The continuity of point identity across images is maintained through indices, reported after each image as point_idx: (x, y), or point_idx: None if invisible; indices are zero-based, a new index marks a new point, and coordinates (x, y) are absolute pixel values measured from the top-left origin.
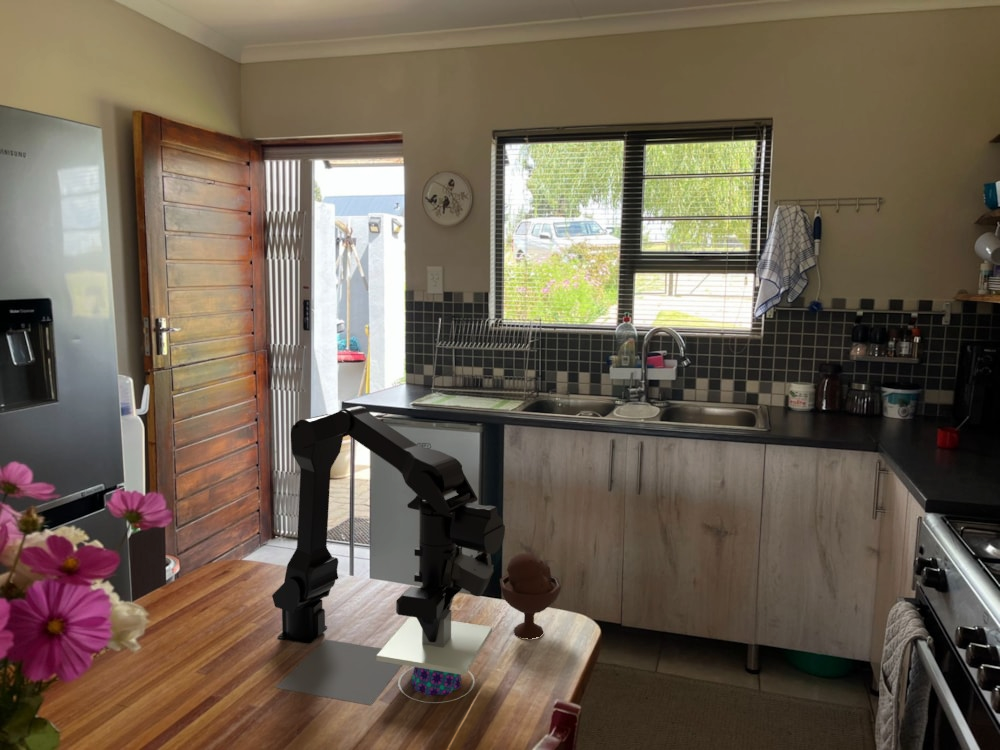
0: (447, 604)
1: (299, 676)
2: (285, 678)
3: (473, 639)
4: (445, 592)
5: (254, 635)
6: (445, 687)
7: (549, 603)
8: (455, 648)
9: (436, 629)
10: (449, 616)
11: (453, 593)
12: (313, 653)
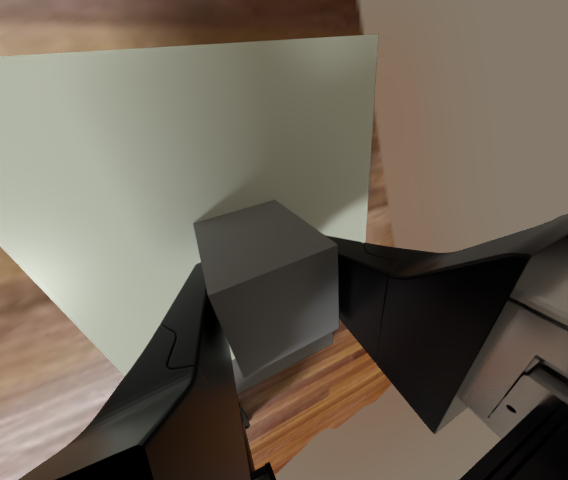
0: (551, 252)
1: (306, 347)
2: (315, 351)
3: (140, 120)
4: (212, 469)
5: (252, 436)
6: None
7: None
8: (260, 157)
9: (343, 239)
10: (240, 265)
11: (183, 436)
12: (256, 382)
